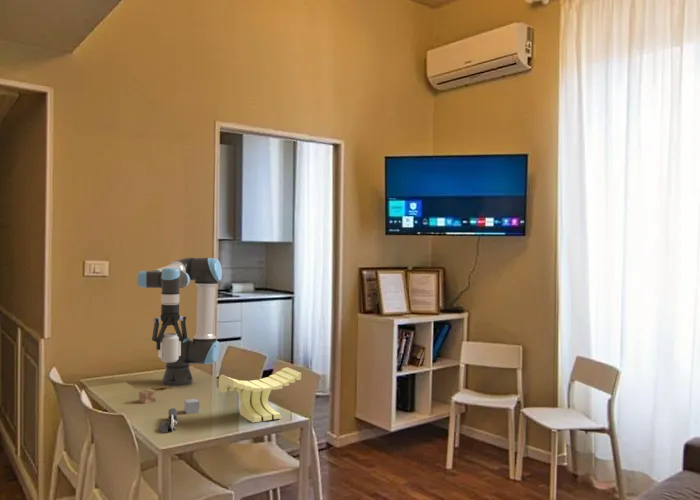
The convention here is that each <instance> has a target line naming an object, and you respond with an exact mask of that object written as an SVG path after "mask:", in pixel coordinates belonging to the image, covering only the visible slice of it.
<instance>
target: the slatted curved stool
mask: <svg viewBox="0 0 700 500" xmlns="http://www.w3.org/2000/svg"><path fill="white" fill-rule="evenodd" d="M298 380H299V381H300V380H302V372H299V371H297V370H295V369H292V368H290V367H288V366H287V367H284V368H281V369H280V370H279V371H275V373H273V374H270V375H269V376H267V377H262V378H259V379H253V380H240V379H239V380H238V379H236V378H232V377H229V376H226V375H224V374H220V375H219V378H218V392H220V393H222V394H224V393H227V392H228V391H229V392H235V391H236V392H237V395H238V398H239V402H240V407H239V414H240V416H241V417H243V418H245V419H246V420H248V421H249V422H250V423H258V422H265V421H271V420H272V421H273V420H277V419H283V417H282V415H281V413H280V412H278V411H276V410H275V409H273V408H272V407H271V406H270V404H269V397H270V394H271V392H272V391H273V390H282V389H284V387H286V386H287V387H288V386H290V384H294V383H296V381H298ZM283 386H284V387H283Z"/></svg>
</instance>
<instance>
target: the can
mask: <svg viewBox="0 0 700 500" xmlns="http://www.w3.org/2000/svg"><path fill="white" fill-rule="evenodd" d="M161 342H162V358H160V361H161V362H162V363H165V364H166V363H172V362H176V361H177V360H178V359H179V337H178V336H177V334H176V332H173V333H171V332H168V333H167V332H166V333H164V335H163V337H162V340H161Z"/></svg>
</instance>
